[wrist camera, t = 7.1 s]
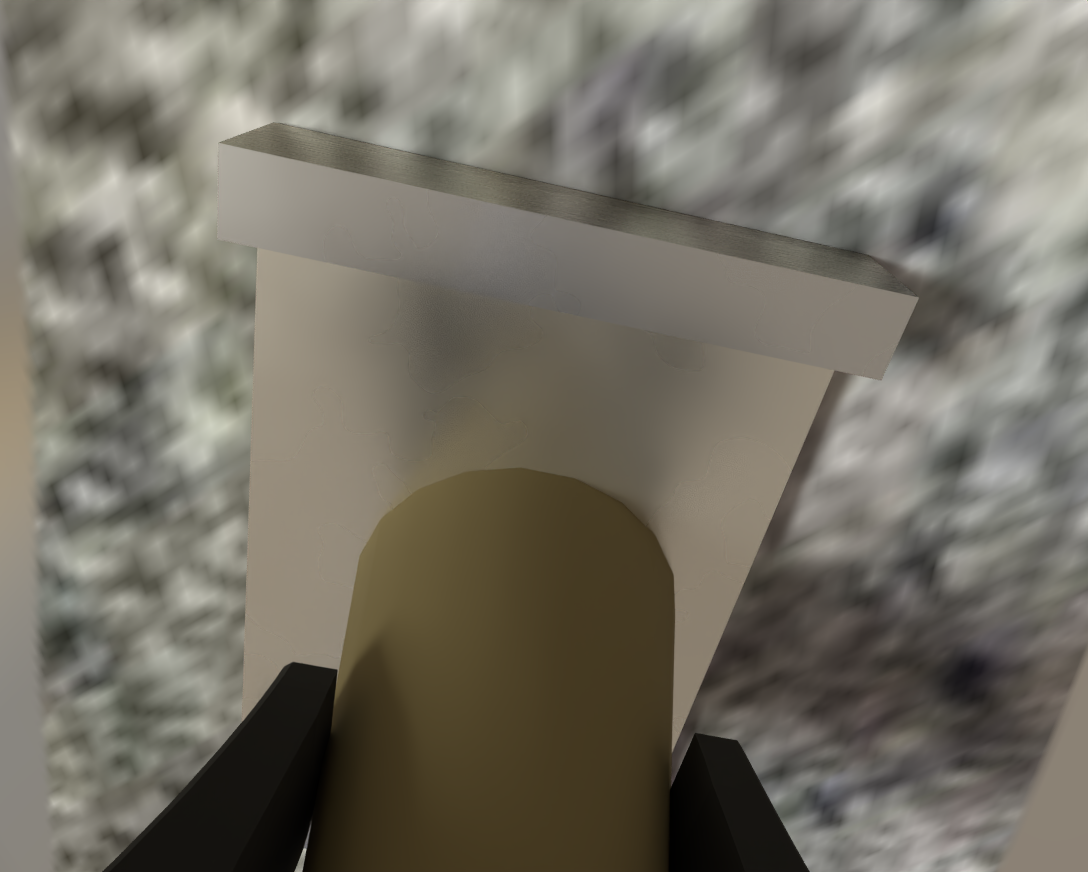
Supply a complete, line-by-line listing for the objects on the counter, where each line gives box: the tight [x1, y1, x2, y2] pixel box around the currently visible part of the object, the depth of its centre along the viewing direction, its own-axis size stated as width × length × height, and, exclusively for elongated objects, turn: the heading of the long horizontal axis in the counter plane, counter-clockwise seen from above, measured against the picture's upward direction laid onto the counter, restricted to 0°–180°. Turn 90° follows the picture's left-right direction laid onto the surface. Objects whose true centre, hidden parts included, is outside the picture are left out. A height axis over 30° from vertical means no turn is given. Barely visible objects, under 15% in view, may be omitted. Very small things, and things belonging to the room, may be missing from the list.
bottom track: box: [217, 122, 919, 849], centre depth 14 cm, size 14×9×2 cm, turn 168°
